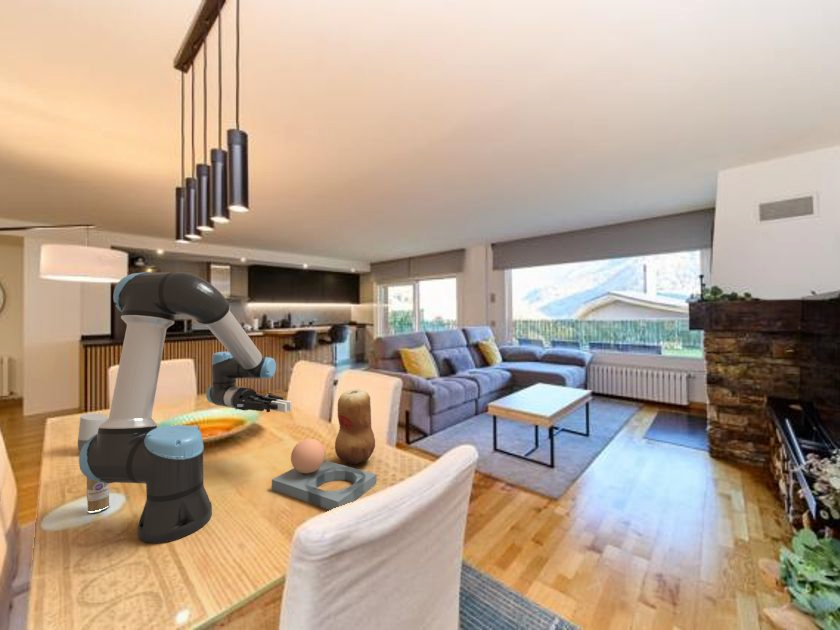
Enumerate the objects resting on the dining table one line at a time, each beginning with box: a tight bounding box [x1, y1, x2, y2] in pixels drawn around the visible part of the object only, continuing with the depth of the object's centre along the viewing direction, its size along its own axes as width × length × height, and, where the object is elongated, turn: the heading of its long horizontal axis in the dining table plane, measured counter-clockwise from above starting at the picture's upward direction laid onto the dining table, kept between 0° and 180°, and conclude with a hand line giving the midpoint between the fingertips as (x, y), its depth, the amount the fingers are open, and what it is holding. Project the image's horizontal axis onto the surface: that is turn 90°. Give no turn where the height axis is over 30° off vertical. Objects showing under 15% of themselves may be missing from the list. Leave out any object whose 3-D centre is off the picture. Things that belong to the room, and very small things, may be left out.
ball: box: [290, 438, 326, 474], centre depth 108 cm, size 10×10×10 cm
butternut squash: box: [334, 388, 376, 466], centre depth 121 cm, size 14×13×25 cm
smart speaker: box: [77, 413, 109, 452], centre depth 132 cm, size 10×9×14 cm
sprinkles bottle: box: [86, 477, 110, 511], centre depth 93 cm, size 5×5×14 cm
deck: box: [271, 459, 378, 511], centre depth 105 cm, size 26×17×3 cm, turn 62°
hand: (288, 407), depth 111 cm, fingers closed
